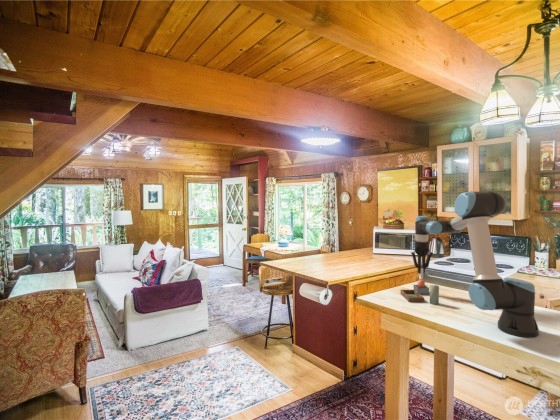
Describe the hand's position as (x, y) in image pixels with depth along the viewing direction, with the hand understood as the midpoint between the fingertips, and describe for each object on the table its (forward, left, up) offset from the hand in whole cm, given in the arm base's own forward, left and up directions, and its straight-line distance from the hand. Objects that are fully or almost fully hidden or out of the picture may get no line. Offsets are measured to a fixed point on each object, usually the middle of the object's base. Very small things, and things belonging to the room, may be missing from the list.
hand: (421, 278), depth 206 cm
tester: (0, 0, -9) cm, 9 cm away
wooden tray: (-10, +9, -9) cm, 16 cm away
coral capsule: (0, 0, -7) cm, 7 cm away
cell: (-20, 0, -9) cm, 22 cm away
